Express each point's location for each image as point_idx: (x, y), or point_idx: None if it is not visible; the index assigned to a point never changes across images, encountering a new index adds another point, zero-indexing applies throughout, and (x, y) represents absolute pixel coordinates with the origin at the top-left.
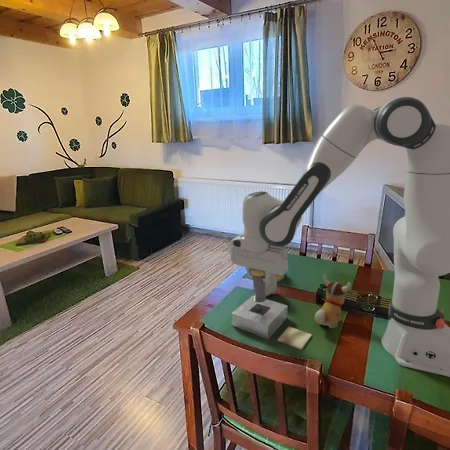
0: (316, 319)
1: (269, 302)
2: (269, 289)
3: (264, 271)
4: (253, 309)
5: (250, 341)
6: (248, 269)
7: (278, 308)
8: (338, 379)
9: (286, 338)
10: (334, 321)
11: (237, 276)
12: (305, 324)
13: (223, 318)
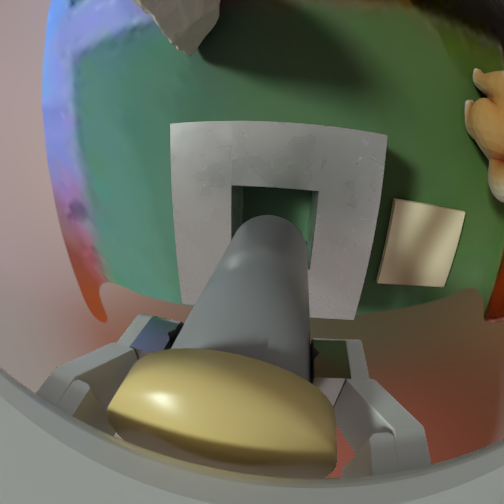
0: (500, 200)
1: (287, 144)
2: (210, 13)
3: (319, 475)
4: (234, 216)
5: None
6: (110, 429)
7: (356, 179)
8: (494, 322)
9: (402, 267)
10: None
11: (56, 16)
12: (436, 151)
13: (150, 252)
